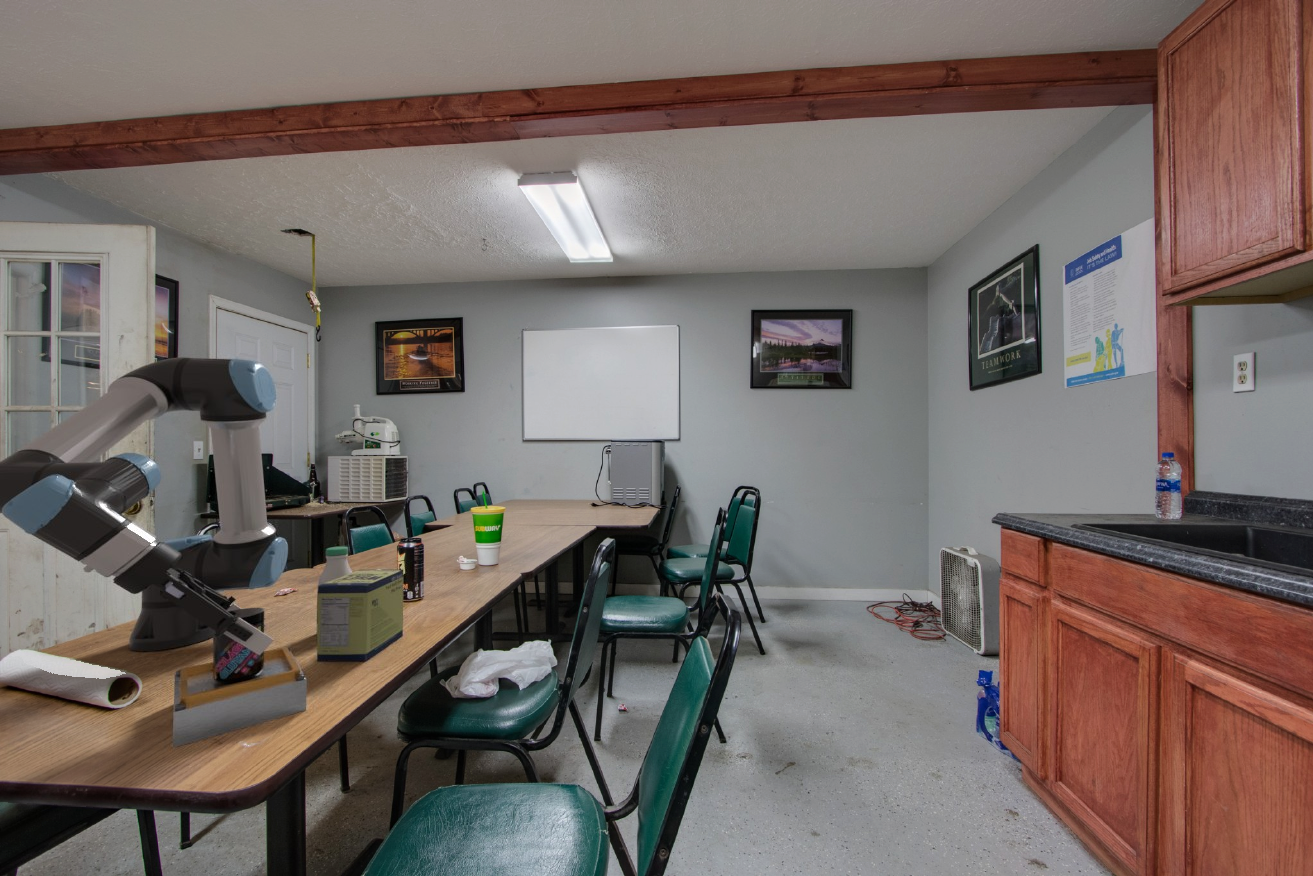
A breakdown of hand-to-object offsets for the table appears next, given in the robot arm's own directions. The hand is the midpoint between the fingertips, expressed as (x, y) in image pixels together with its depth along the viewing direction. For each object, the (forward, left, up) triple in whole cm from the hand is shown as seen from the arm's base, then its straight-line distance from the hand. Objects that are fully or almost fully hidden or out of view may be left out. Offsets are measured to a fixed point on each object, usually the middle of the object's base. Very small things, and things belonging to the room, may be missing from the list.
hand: (262, 638), depth 88 cm
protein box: (-16, +19, -11) cm, 27 cm away
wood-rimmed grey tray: (0, -3, -11) cm, 11 cm away
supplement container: (0, -3, -6) cm, 6 cm away
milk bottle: (-32, +17, -11) cm, 38 cm away
